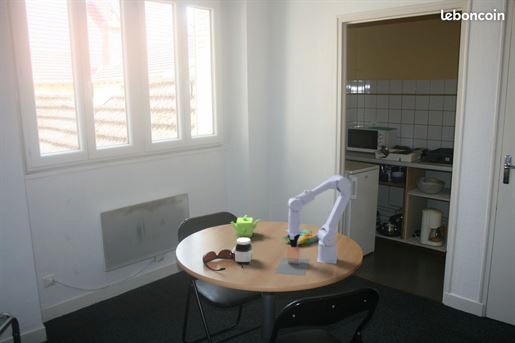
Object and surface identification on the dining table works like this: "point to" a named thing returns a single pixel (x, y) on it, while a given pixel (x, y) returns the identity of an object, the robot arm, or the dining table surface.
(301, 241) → the colorful snack bag
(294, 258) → the cube
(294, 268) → the mat
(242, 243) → the spread jar
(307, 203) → the robot arm
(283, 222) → the dining table surface
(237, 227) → the kettle
